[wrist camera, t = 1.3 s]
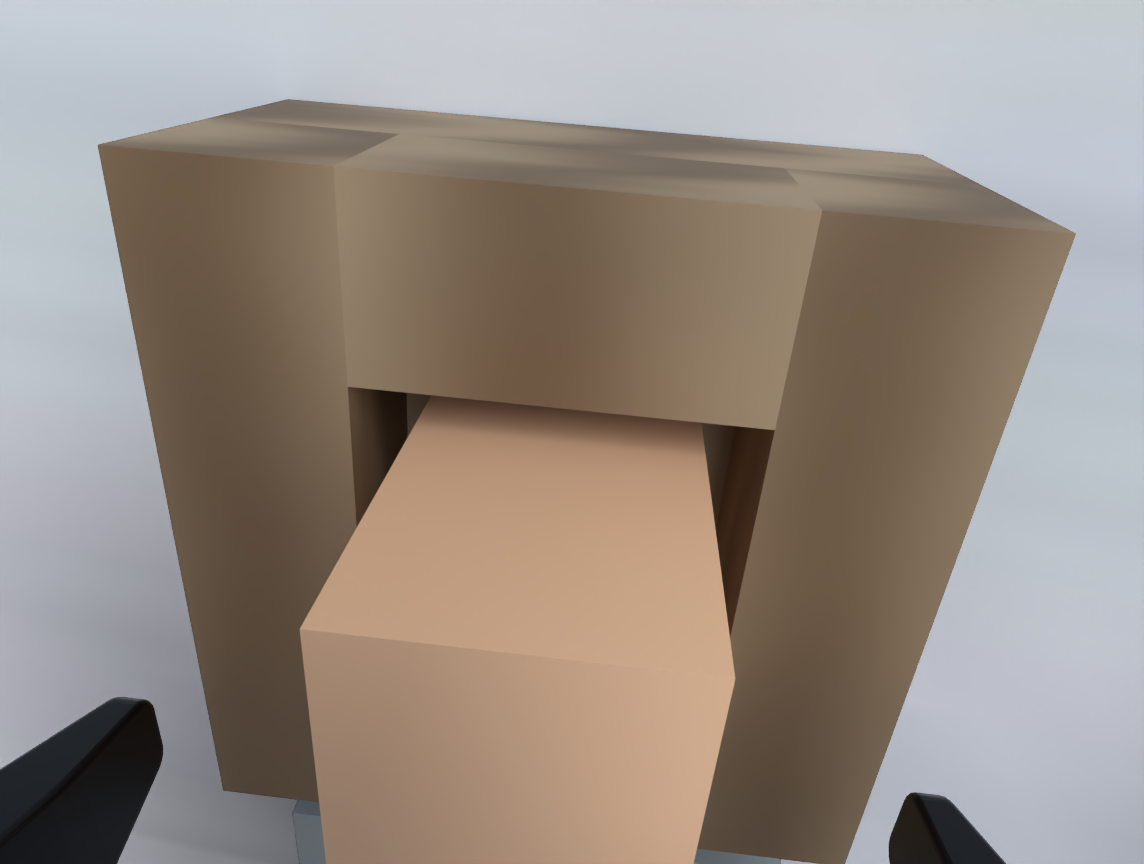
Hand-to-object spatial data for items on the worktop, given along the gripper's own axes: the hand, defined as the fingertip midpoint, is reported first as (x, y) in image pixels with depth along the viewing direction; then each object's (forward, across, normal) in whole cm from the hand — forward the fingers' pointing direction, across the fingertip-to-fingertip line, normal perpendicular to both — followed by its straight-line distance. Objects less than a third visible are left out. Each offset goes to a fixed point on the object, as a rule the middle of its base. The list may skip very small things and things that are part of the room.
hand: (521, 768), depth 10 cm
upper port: (+10, 0, 0) cm, 10 cm away
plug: (+6, 0, 0) cm, 7 cm away
